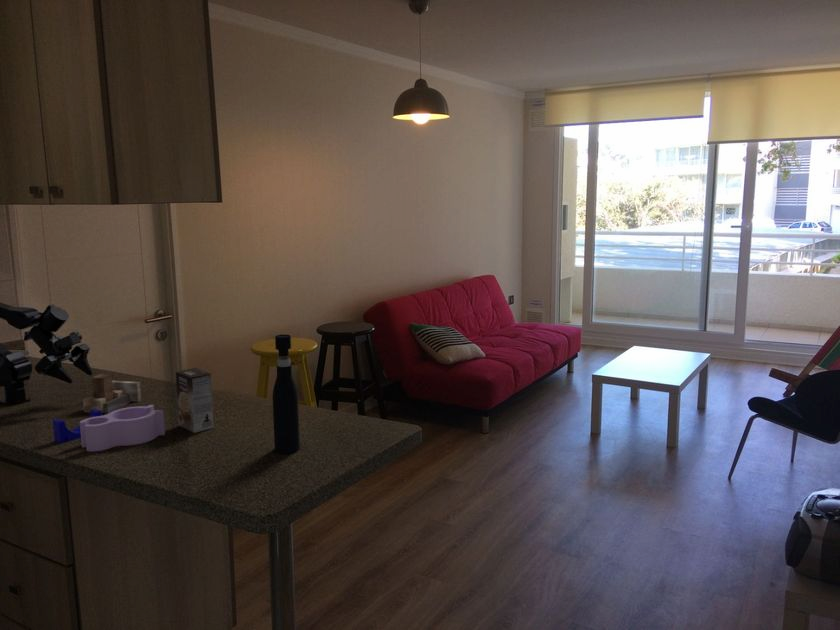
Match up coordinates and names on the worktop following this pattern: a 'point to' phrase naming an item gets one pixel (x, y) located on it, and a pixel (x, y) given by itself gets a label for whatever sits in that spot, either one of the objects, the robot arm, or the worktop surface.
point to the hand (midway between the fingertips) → (81, 378)
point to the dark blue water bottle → (285, 401)
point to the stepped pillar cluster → (115, 397)
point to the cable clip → (64, 434)
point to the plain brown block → (102, 387)
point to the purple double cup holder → (122, 428)
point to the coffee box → (194, 399)
